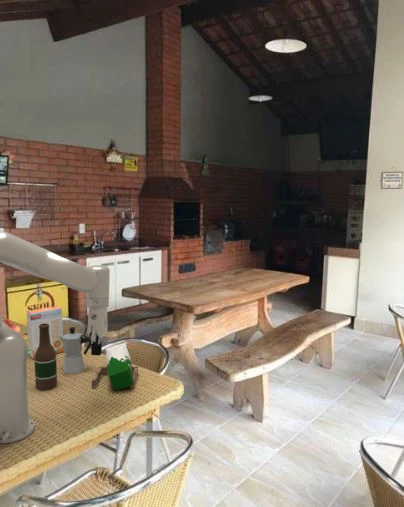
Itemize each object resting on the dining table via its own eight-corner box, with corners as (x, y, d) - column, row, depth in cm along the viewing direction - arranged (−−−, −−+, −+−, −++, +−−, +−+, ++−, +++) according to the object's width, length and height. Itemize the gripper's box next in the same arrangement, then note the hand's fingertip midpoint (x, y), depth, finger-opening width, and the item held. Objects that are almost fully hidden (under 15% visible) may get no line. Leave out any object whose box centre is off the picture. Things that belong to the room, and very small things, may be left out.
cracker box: (59, 348, 198) (57, 305, 195) (64, 352, 194) (62, 307, 191) (28, 355, 189) (26, 310, 186) (32, 359, 185) (30, 313, 182)
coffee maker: (53, 373, 171) (52, 329, 169) (64, 364, 180) (63, 323, 177) (88, 376, 168) (87, 332, 166) (97, 367, 177) (96, 325, 175)
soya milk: (129, 367, 154) (125, 338, 172) (105, 375, 152) (103, 344, 170) (136, 386, 157) (131, 355, 175) (112, 394, 156) (110, 362, 174)
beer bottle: (50, 392, 154) (47, 328, 151) (31, 390, 156) (28, 326, 153) (61, 383, 162) (59, 322, 159) (43, 381, 164) (40, 320, 160)
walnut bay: (133, 388, 158) (133, 380, 158) (92, 388, 158) (91, 380, 157) (137, 373, 171) (137, 366, 171) (99, 373, 171) (99, 366, 170)
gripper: (104, 307, 137) (102, 362, 138) (112, 298, 151) (111, 348, 153) (80, 306, 136) (79, 361, 138) (91, 297, 151) (90, 347, 153)
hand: (96, 354), depth 146 cm, fingers closed
